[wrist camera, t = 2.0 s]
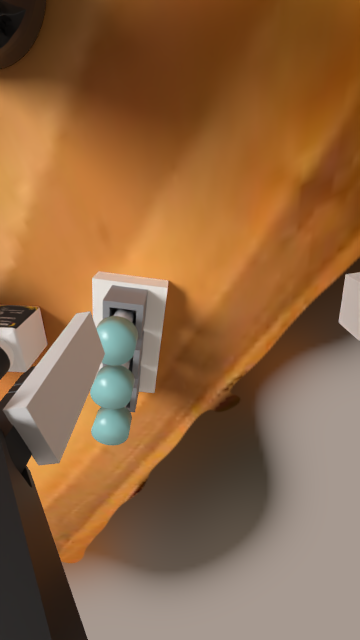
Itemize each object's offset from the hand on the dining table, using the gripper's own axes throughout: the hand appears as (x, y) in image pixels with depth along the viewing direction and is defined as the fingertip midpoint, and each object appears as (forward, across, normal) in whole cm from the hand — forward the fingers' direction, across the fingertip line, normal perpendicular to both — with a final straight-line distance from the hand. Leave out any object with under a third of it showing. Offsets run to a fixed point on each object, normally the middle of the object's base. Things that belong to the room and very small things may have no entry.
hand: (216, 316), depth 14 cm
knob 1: (+18, -10, -7) cm, 21 cm away
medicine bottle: (+24, -28, -10) cm, 39 cm away
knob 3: (+18, -14, -20) cm, 30 cm away
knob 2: (+18, -12, -13) cm, 25 cm away
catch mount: (+24, -12, -13) cm, 30 cm away
